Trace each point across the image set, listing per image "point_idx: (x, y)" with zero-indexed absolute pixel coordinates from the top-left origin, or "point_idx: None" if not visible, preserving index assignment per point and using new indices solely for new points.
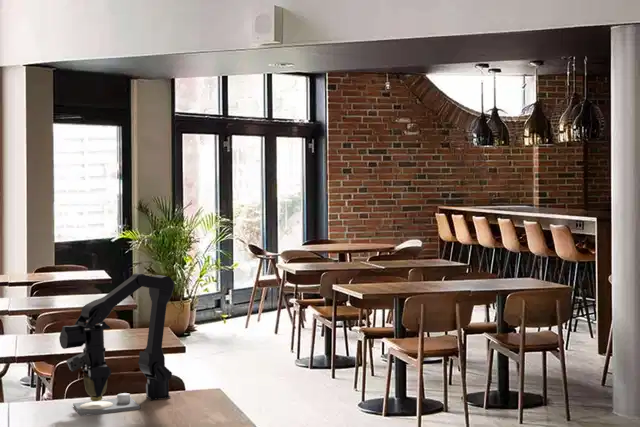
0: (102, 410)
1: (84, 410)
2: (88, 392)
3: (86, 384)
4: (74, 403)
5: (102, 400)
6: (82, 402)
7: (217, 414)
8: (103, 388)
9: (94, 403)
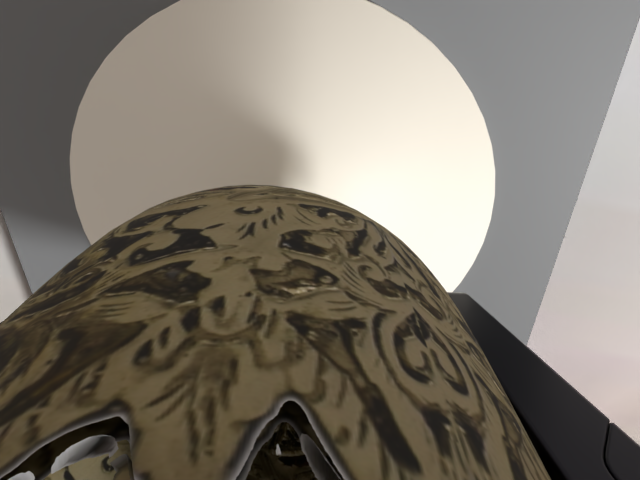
0: (5, 217)
1: (36, 2)
2: (144, 212)
3: (45, 303)
4: None
5: (514, 311)
6: (598, 87)
7: None
8: (99, 464)
9: (384, 210)
